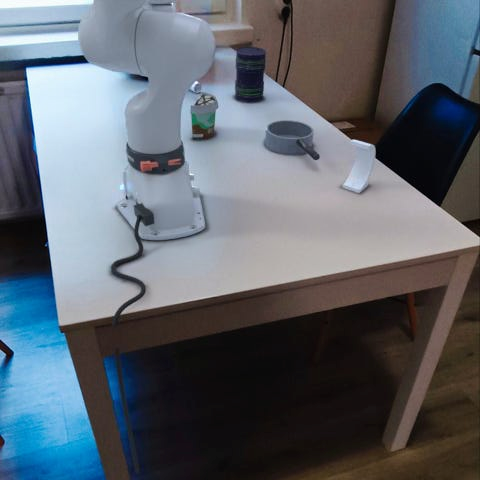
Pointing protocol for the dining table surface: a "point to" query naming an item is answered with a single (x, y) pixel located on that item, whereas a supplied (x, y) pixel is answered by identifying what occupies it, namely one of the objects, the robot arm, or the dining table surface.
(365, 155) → the headphone stand
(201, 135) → the food container
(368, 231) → the dining table surface
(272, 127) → the saucepan
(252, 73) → the storage jar
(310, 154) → the saucepan handle
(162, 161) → the robot arm
